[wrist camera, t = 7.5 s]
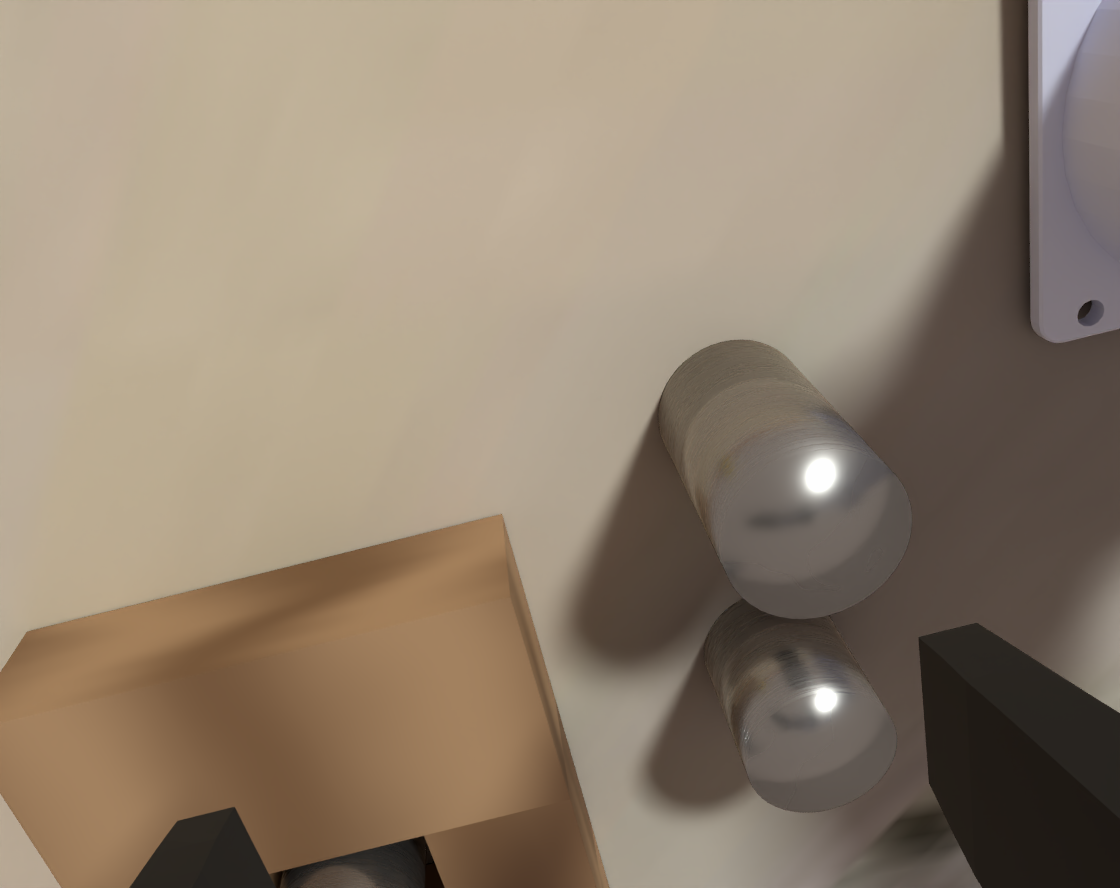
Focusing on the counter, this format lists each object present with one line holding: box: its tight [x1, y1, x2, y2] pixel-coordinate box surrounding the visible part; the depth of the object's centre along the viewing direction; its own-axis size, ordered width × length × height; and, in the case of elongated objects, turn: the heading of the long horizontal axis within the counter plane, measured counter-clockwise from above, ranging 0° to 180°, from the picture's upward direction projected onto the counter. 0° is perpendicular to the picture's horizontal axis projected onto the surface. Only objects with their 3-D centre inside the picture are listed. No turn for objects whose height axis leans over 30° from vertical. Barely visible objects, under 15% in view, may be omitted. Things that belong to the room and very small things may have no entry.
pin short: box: [704, 599, 897, 812], centre depth 21 cm, size 3×3×4 cm
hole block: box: [0, 514, 609, 888], centre depth 22 cm, size 10×14×3 cm
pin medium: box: [658, 340, 912, 619], centre depth 17 cm, size 3×3×5 cm
